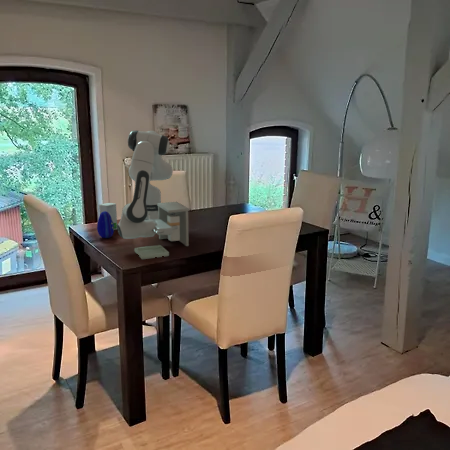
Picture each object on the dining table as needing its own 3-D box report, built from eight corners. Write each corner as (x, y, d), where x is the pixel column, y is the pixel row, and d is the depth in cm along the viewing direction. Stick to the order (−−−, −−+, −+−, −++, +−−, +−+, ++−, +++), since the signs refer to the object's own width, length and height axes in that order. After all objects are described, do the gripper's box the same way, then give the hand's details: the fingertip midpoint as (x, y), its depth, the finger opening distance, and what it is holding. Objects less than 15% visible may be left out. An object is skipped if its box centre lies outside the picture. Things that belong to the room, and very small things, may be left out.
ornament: (114, 239, 268) (113, 213, 264) (97, 240, 266) (95, 213, 263) (114, 234, 279) (113, 208, 275) (98, 235, 277) (96, 209, 273)
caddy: (170, 241, 255) (170, 214, 252) (167, 238, 260) (167, 212, 256) (179, 240, 258) (179, 213, 254) (176, 237, 262) (176, 211, 259)
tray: (142, 259, 236) (141, 255, 235) (134, 251, 248) (134, 248, 247) (168, 255, 241) (168, 252, 241) (160, 248, 253) (160, 244, 253)
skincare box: (107, 232, 284) (106, 205, 280) (99, 230, 287) (98, 204, 283) (118, 229, 291) (116, 203, 287) (109, 227, 294) (108, 202, 290)
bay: (169, 248, 253) (168, 210, 248) (158, 239, 270) (157, 203, 265) (189, 246, 258) (189, 208, 253) (177, 236, 275) (176, 201, 270)
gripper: (155, 226, 242) (181, 224, 247) (144, 218, 260) (168, 215, 265) (155, 239, 243) (181, 236, 249) (144, 229, 261) (169, 227, 267)
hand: (175, 225), depth 257 cm, fingers closed on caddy, 5 cm apart
